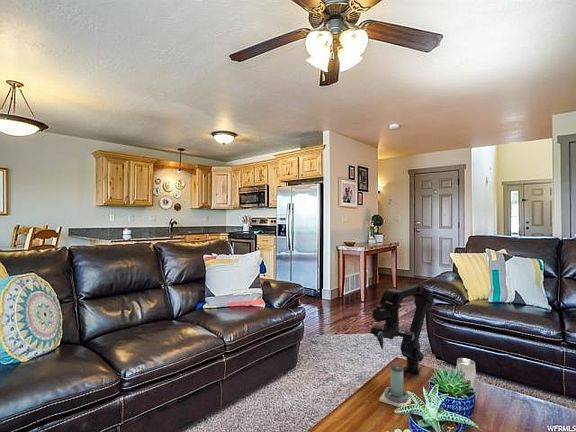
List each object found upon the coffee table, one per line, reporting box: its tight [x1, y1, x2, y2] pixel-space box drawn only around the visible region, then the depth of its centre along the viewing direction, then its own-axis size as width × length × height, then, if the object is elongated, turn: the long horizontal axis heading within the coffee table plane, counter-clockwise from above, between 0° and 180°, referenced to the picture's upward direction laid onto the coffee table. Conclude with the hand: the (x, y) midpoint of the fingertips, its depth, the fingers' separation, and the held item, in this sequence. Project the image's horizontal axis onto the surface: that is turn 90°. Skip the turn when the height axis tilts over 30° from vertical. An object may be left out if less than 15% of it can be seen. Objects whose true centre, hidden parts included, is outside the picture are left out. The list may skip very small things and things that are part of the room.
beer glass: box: [456, 357, 477, 389], centre depth 136 cm, size 7×7×15 cm
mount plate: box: [379, 386, 413, 408], centre depth 135 cm, size 11×11×2 cm
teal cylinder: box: [390, 363, 404, 398], centre depth 135 cm, size 5×5×12 cm
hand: (392, 351), depth 151 cm, fingers open, 9 cm apart
